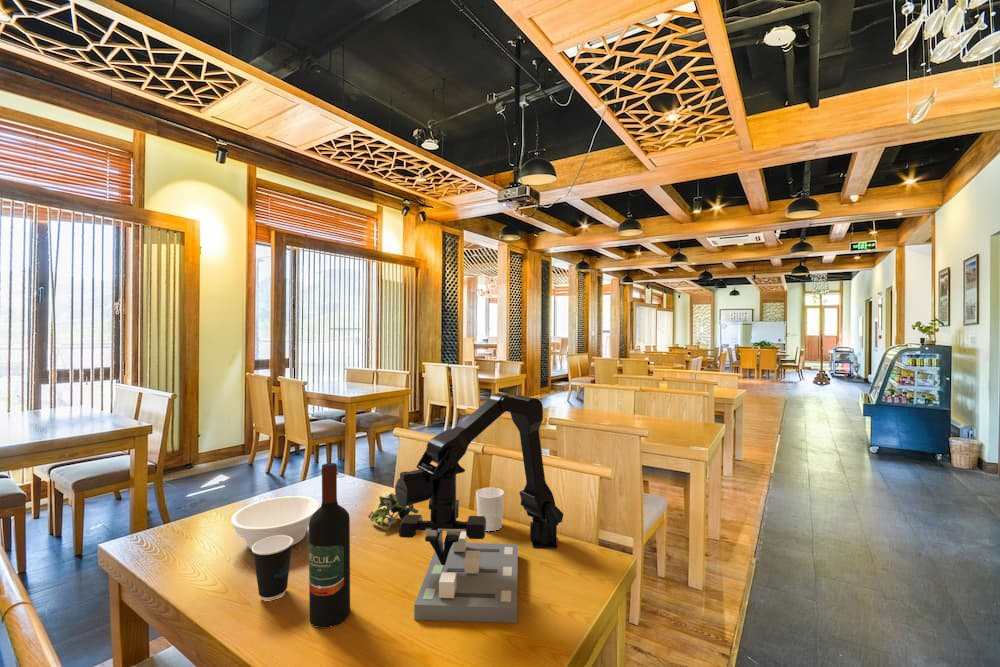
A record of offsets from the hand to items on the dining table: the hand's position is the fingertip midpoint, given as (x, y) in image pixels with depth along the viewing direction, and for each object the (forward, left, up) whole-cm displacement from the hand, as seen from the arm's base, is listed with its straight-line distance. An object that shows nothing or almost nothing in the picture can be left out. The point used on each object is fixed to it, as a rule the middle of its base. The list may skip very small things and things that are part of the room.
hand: (443, 564), depth 99 cm
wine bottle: (+21, +12, -4) cm, 24 cm away
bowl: (+48, -17, -5) cm, 51 cm away
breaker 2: (-2, -9, -1) cm, 9 cm away
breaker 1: (-2, +9, -1) cm, 9 cm away
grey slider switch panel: (-6, 0, -4) cm, 8 cm away
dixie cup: (+36, +6, -5) cm, 36 cm away
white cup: (-8, -28, -5) cm, 29 cm away
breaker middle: (-6, 0, -1) cm, 6 cm away
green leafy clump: (+20, -28, -5) cm, 34 cm away
